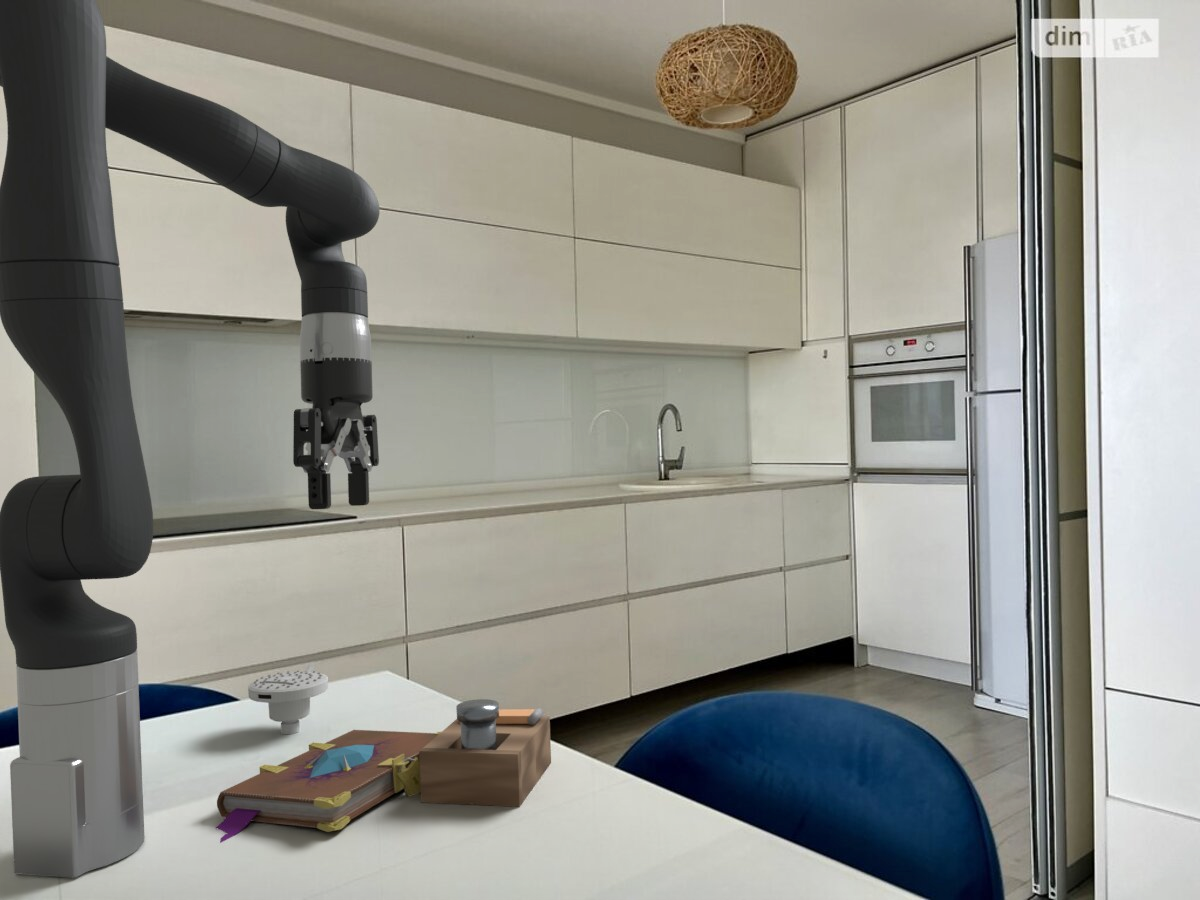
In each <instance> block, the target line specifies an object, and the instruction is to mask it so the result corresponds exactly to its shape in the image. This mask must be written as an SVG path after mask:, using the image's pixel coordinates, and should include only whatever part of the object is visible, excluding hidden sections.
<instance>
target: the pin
mask: <svg viewBox="0 0 1200 900" xmlns="http://www.w3.org/2000/svg"><path fill="white" fill-rule="evenodd" d="M499 706H500V705H499V702H498V701H496V700H494V699H488V698H487V699H485V698H482V699H481V698H480V699H471V700H465V701H462V702H460V703H458V704H457V705H456V719H457V720H458V721H459V722H461V749H479V750H496V749H497V742H496V719H497V718H498V717H499V709H500V707H499Z"/></svg>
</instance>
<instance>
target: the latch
mask: <svg viewBox="0 0 1200 900" xmlns="http://www.w3.org/2000/svg"><path fill="white" fill-rule="evenodd" d="M543 715H544V710H543V709H542V708H540V707H537V708H534V709H533V708H531V709H528V708H526V709H525V708H523V709H522V708H521V709H520V708H518V709H515V708H514V709H512V708H511V709H506V708H505V709H500V708H499V717H498V718H497V719H496V724H530V725H534V724H536V722H537V721H538V720H539V719H540V718H541V717H542V716H543Z"/></svg>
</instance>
